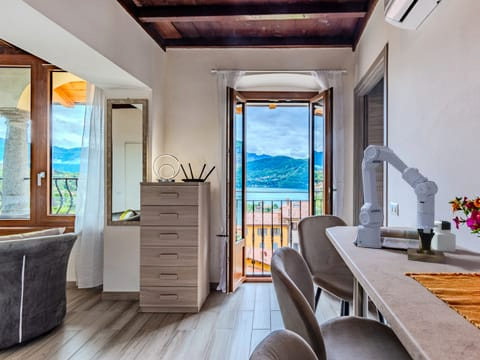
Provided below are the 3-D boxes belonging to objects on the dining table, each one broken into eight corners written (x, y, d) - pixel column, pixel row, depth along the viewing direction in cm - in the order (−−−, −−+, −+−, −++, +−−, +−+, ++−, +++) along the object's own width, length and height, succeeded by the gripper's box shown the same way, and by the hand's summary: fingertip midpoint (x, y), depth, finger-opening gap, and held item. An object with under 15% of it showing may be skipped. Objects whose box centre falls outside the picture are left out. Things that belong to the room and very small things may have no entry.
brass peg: (419, 253, 123) (419, 235, 122) (418, 251, 126) (418, 233, 126) (431, 254, 121) (431, 236, 121) (430, 252, 125) (430, 234, 124)
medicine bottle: (446, 247, 139) (446, 219, 139) (455, 251, 132) (456, 222, 131) (428, 247, 140) (429, 219, 139) (437, 251, 132) (437, 222, 132)
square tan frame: (407, 259, 121) (407, 254, 121) (407, 252, 132) (407, 247, 132) (445, 263, 116) (445, 258, 115) (442, 255, 126) (442, 250, 126)
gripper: (440, 216, 115) (439, 254, 115) (436, 211, 128) (435, 245, 128) (417, 215, 118) (417, 252, 118) (415, 210, 131) (415, 244, 131)
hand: (425, 248), depth 123 cm, fingers closed on brass peg, 4 cm apart
